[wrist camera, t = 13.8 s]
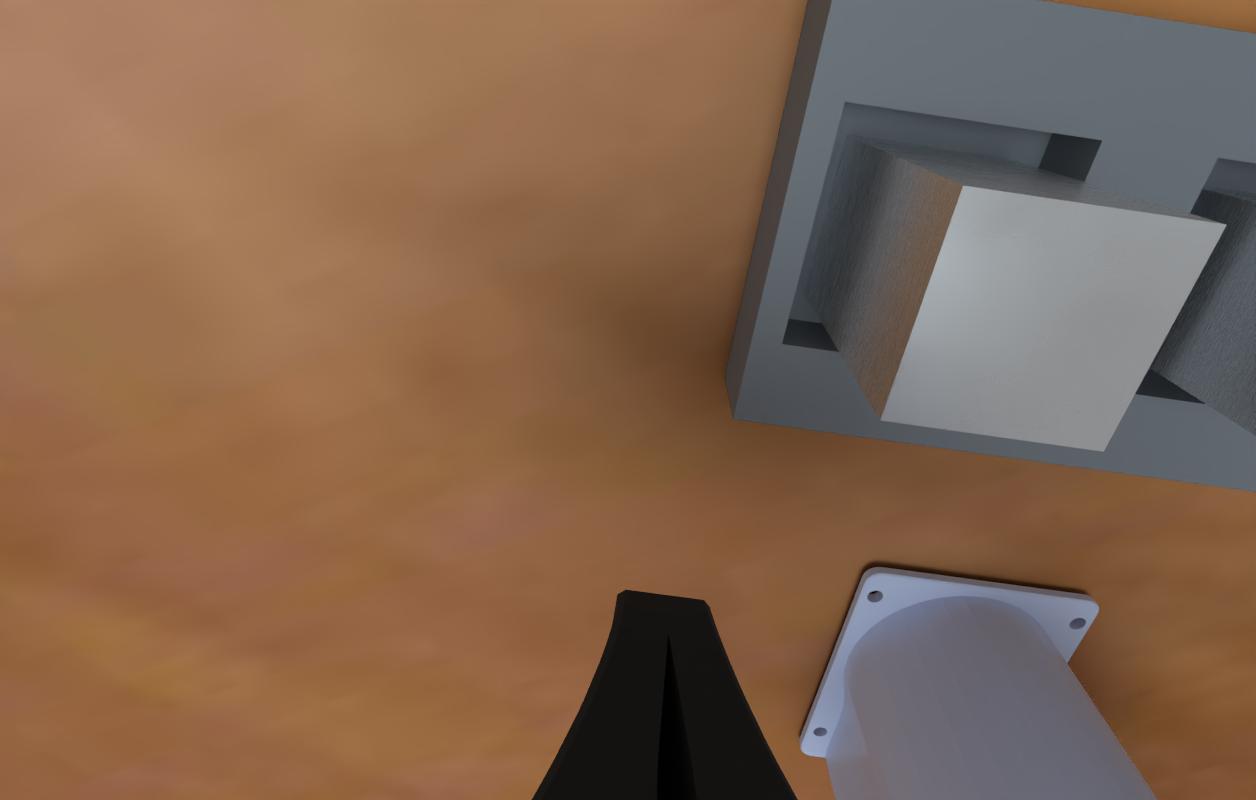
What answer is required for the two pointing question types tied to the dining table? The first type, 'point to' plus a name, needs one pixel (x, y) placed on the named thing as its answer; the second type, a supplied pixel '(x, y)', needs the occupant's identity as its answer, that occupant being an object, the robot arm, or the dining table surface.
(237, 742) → the dining table surface
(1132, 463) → the frame
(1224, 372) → the billet
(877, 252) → the block
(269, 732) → the dining table surface
